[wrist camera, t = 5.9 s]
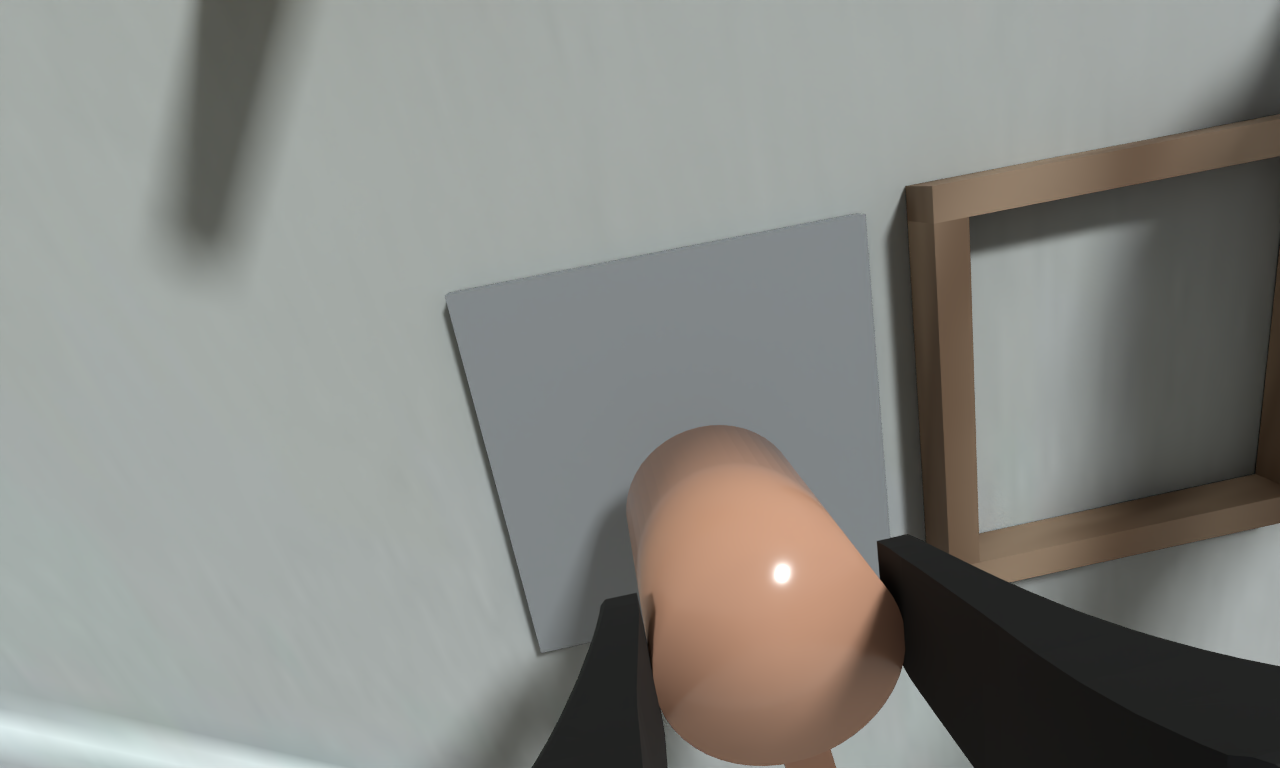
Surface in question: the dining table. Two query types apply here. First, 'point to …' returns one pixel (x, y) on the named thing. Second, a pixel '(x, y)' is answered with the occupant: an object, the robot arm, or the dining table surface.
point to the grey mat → (670, 393)
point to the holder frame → (950, 365)
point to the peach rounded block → (755, 604)
